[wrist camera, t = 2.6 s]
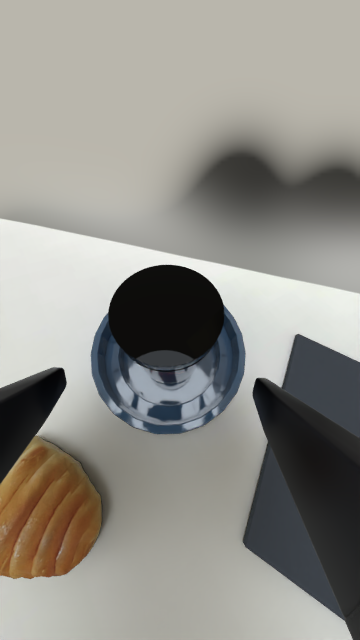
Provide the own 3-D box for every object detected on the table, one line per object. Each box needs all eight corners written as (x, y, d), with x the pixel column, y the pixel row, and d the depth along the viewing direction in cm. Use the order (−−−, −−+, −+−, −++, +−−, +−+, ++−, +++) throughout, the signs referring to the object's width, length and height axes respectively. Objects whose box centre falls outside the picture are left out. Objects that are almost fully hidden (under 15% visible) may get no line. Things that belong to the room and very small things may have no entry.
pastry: (124, 474, 15) (109, 498, 11) (76, 590, 12) (36, 670, 8) (36, 429, 16) (-2, 437, 12) (-26, 524, 13) (-98, 569, 10)
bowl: (197, 459, 15) (205, 478, 11) (79, 379, 18) (54, 373, 14) (247, 333, 21) (264, 318, 17) (152, 287, 24) (148, 265, 20)
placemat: (471, 712, 10) (485, 726, 10) (242, 541, 13) (245, 546, 13) (432, 398, 18) (438, 398, 18) (295, 335, 21) (298, 333, 21)
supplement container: (197, 326, 21) (217, 264, 11) (202, 384, 18) (234, 365, 8) (142, 327, 20) (116, 264, 11) (138, 386, 17) (97, 368, 8)
